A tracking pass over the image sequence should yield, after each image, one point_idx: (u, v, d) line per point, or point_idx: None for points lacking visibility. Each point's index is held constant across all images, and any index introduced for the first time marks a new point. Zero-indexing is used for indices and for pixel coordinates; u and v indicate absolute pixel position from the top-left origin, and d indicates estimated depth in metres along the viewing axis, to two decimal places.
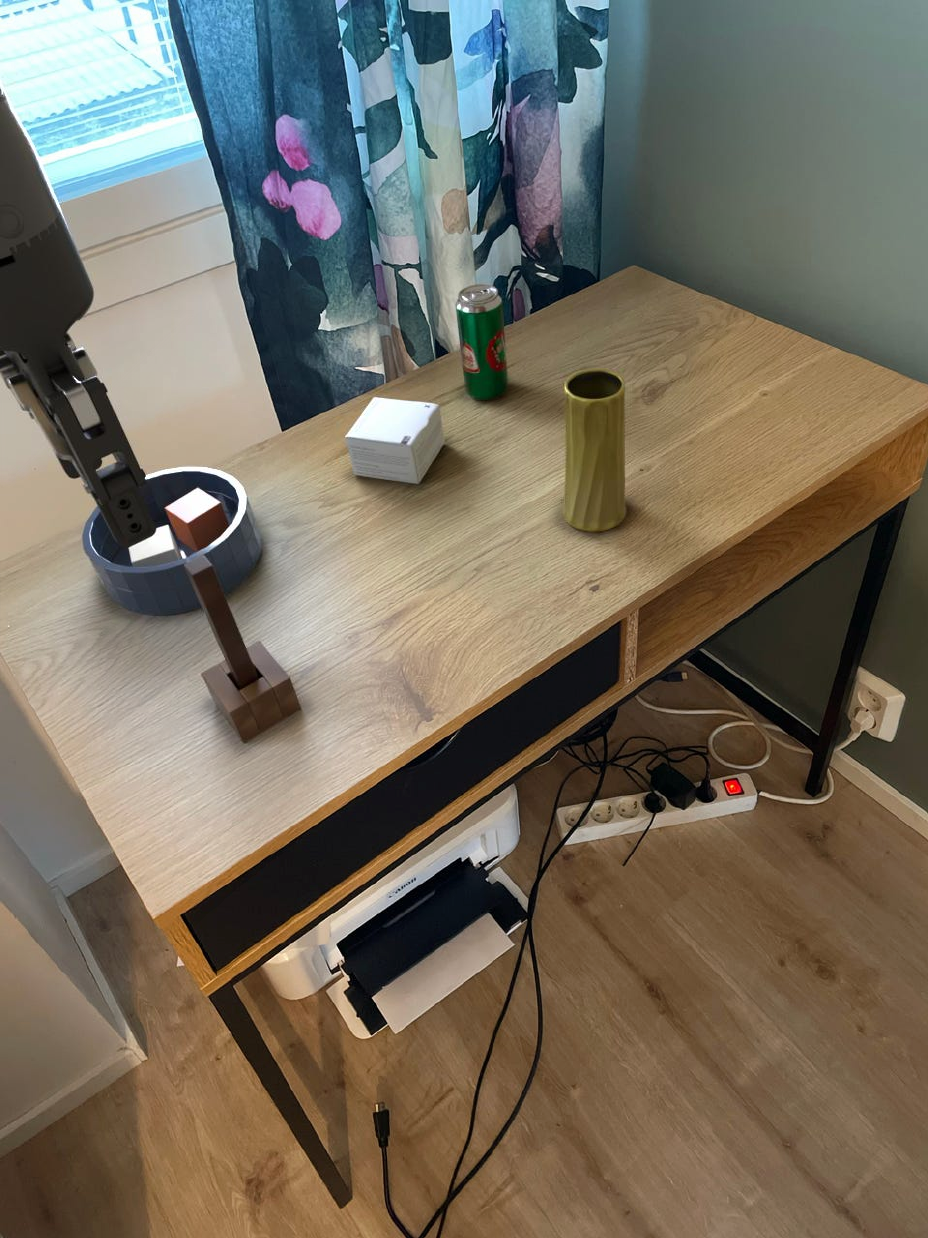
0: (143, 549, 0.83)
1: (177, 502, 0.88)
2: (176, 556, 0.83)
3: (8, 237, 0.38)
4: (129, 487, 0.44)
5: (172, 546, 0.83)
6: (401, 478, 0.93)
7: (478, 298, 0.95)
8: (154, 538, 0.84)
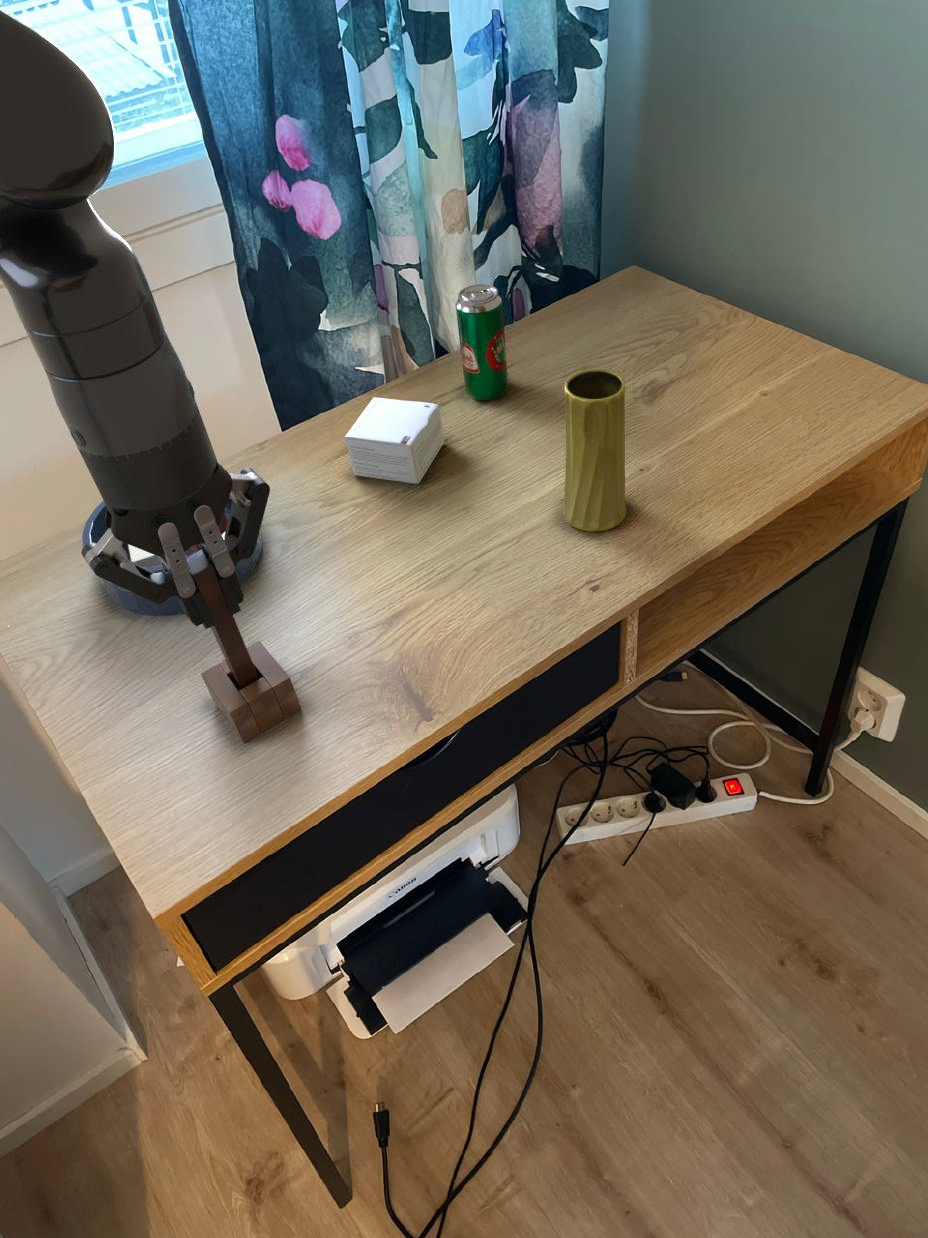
0: None
1: None
2: None
3: (77, 443, 0.53)
4: None
5: None
6: (401, 478, 0.93)
7: (478, 298, 0.95)
8: None
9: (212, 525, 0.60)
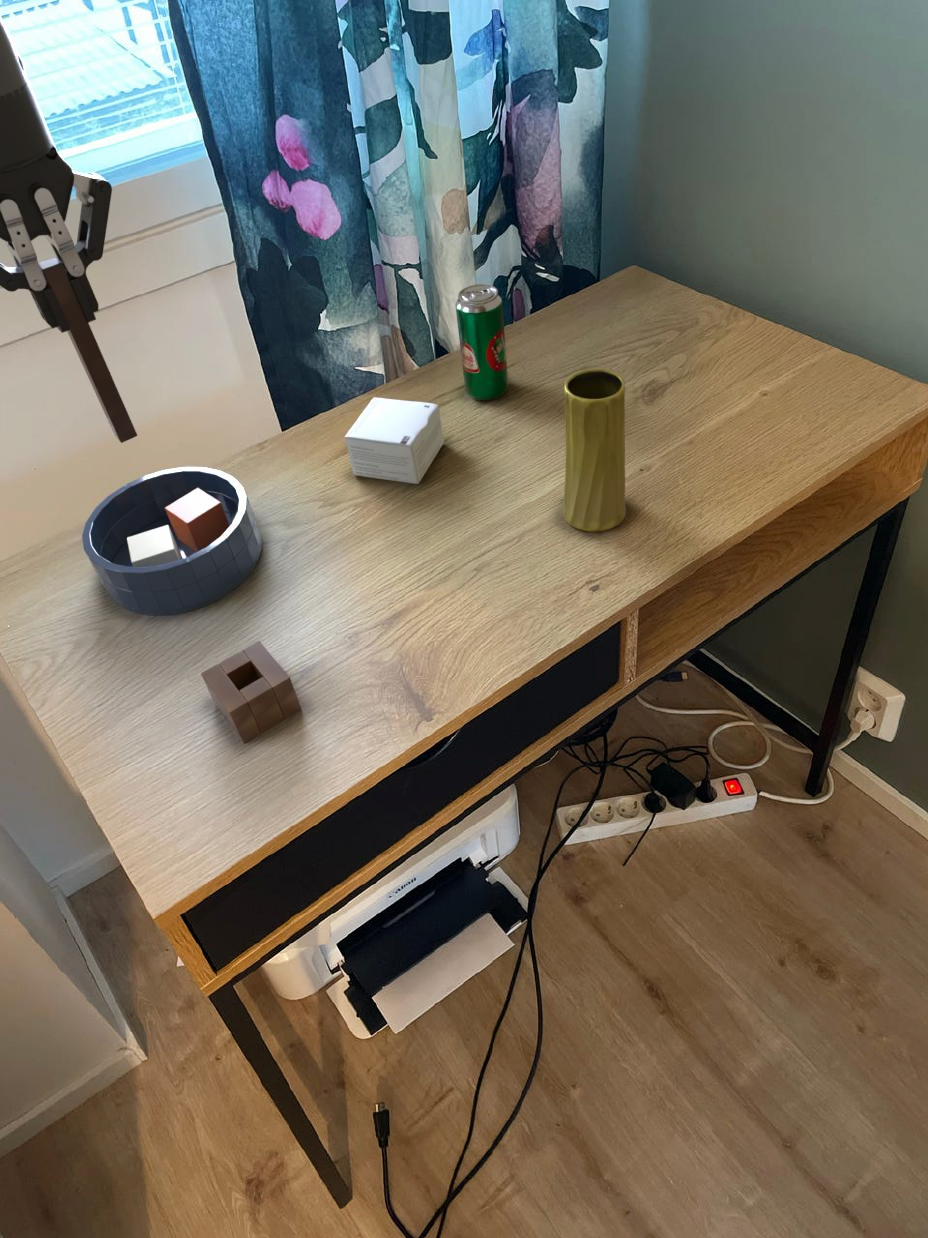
0: (143, 549, 0.83)
1: (177, 502, 0.88)
2: (176, 556, 0.83)
3: None
4: None
5: (172, 546, 0.83)
6: (401, 478, 0.93)
7: (478, 298, 0.95)
8: (154, 538, 0.84)
9: (55, 213, 0.66)
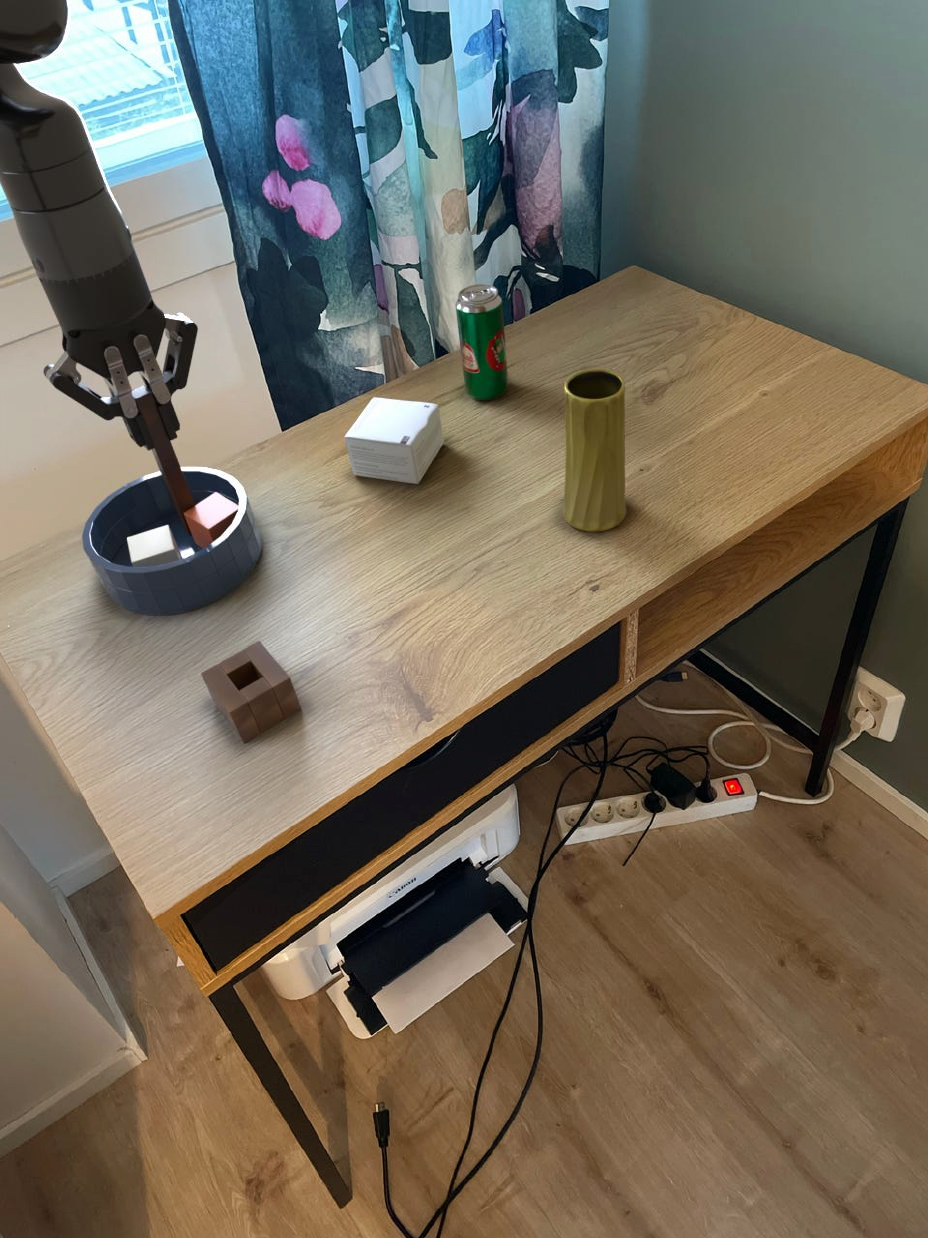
0: (143, 549, 0.83)
1: (196, 507, 0.87)
2: (176, 556, 0.83)
3: (37, 271, 0.67)
4: None
5: (172, 546, 0.83)
6: (401, 478, 0.93)
7: (478, 298, 0.95)
8: (154, 538, 0.84)
9: (150, 353, 0.75)
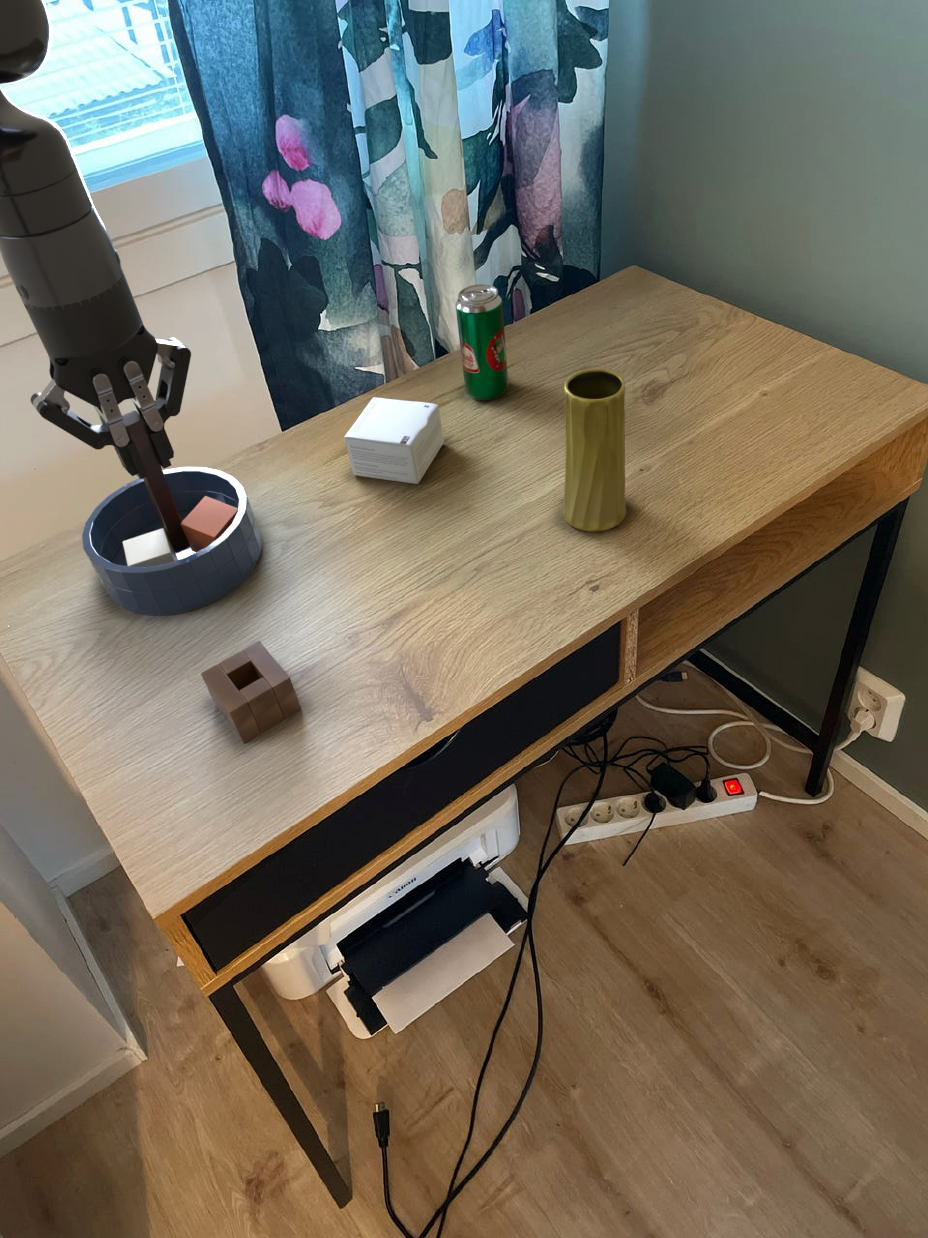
0: (140, 552, 0.83)
1: (191, 515, 0.85)
2: (172, 559, 0.83)
3: (22, 297, 0.64)
4: None
5: (168, 549, 0.83)
6: (401, 478, 0.93)
7: (478, 298, 0.95)
8: (150, 542, 0.84)
9: (141, 380, 0.72)
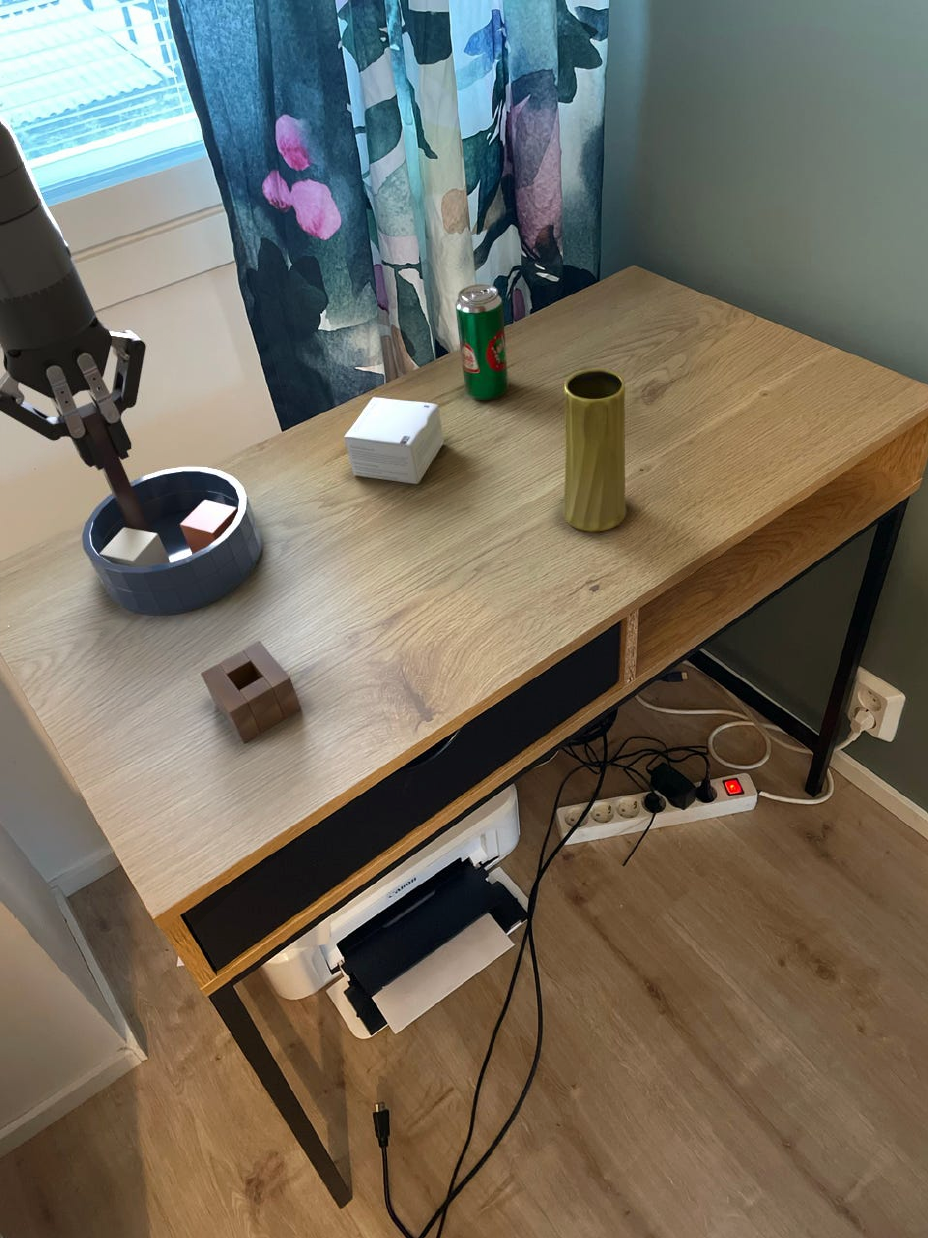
0: (129, 549, 0.83)
1: (190, 516, 0.86)
2: (160, 541, 0.85)
3: None
4: None
5: (153, 533, 0.85)
6: (401, 478, 0.93)
7: (478, 298, 0.95)
8: (126, 539, 0.84)
9: (95, 372, 0.73)
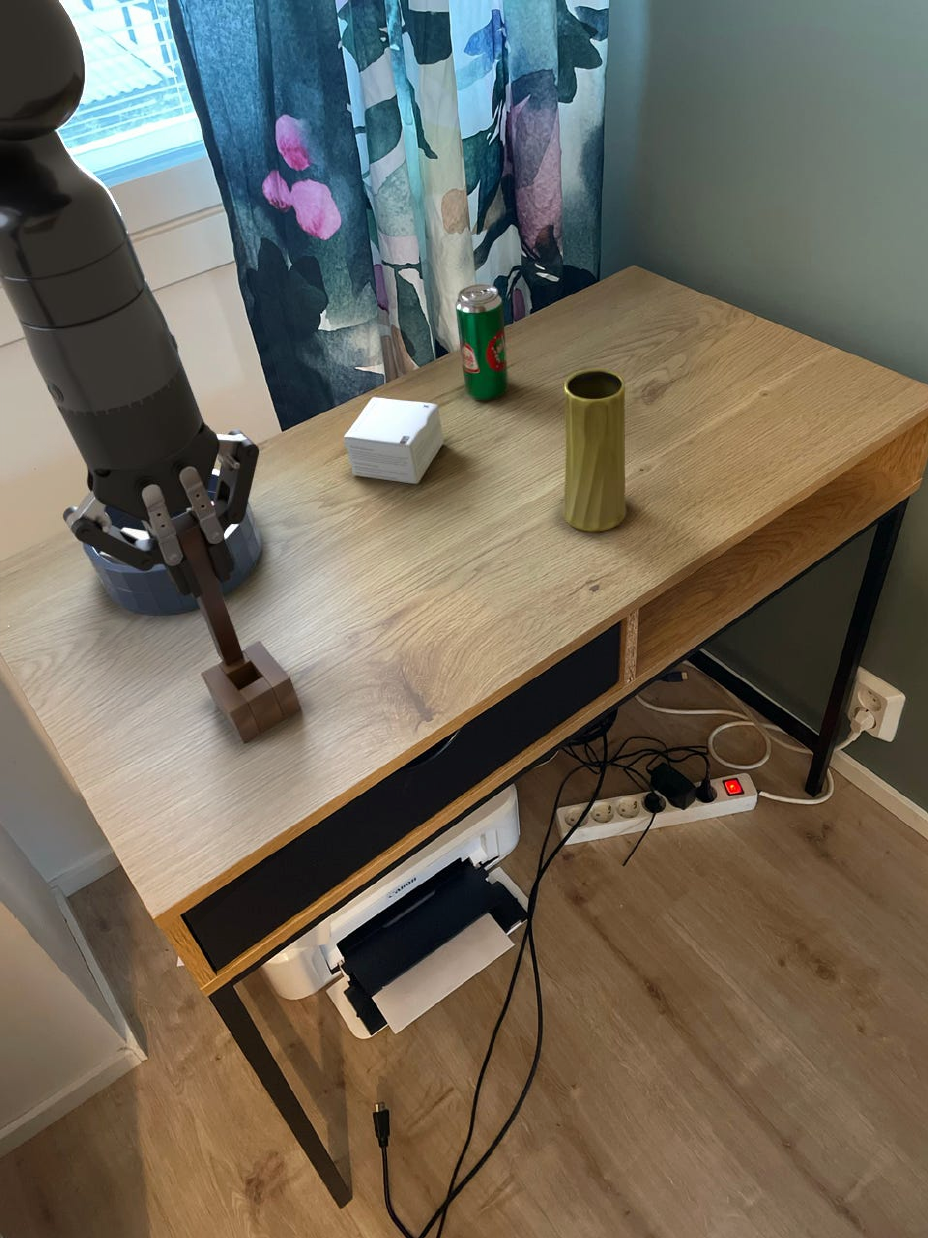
0: None
1: None
2: None
3: (55, 398, 0.50)
4: None
5: None
6: (400, 478, 0.93)
7: (478, 298, 0.95)
8: None
9: (199, 487, 0.58)
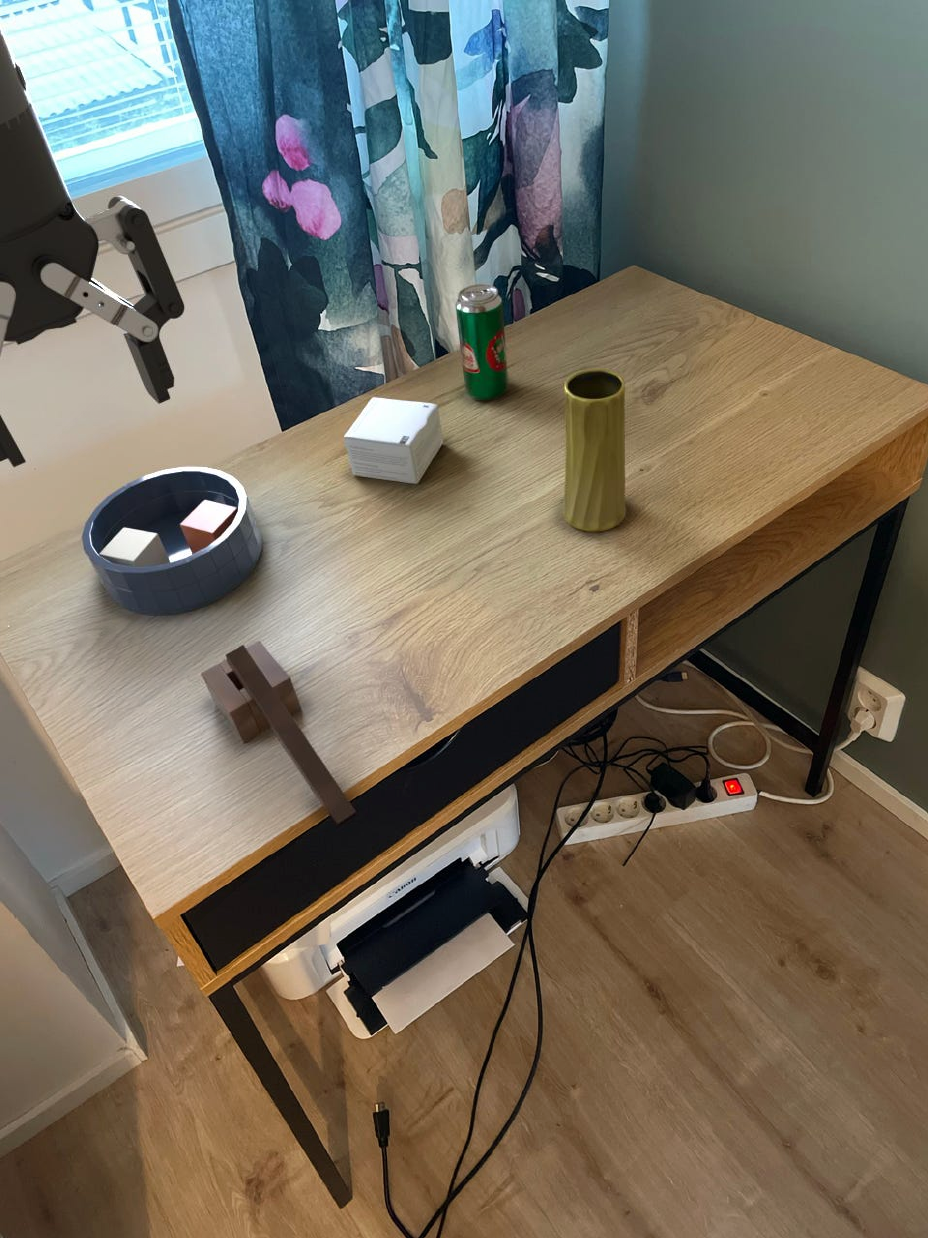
0: (129, 549, 0.83)
1: (190, 516, 0.86)
2: (160, 541, 0.85)
3: None
4: None
5: (153, 533, 0.85)
6: (400, 478, 0.93)
7: (478, 298, 0.95)
8: (126, 539, 0.84)
9: (81, 283, 0.45)
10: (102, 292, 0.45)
